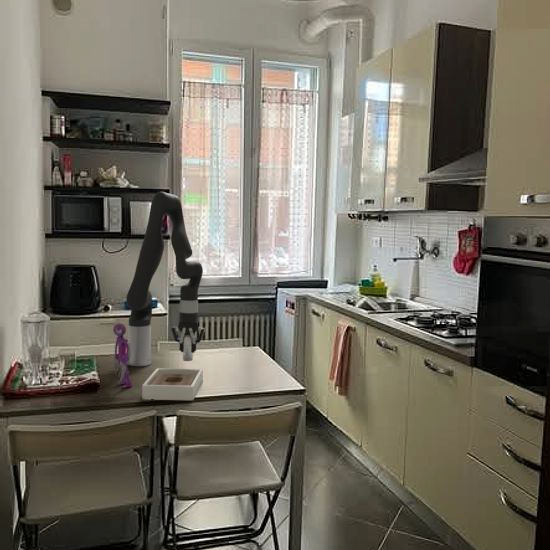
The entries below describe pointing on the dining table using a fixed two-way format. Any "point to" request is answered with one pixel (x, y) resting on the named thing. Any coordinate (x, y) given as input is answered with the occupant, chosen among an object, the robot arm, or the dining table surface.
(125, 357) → the toy
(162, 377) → the bore plate
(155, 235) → the robot arm
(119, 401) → the dining table surface
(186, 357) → the peg
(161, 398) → the box
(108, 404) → the dining table surface
